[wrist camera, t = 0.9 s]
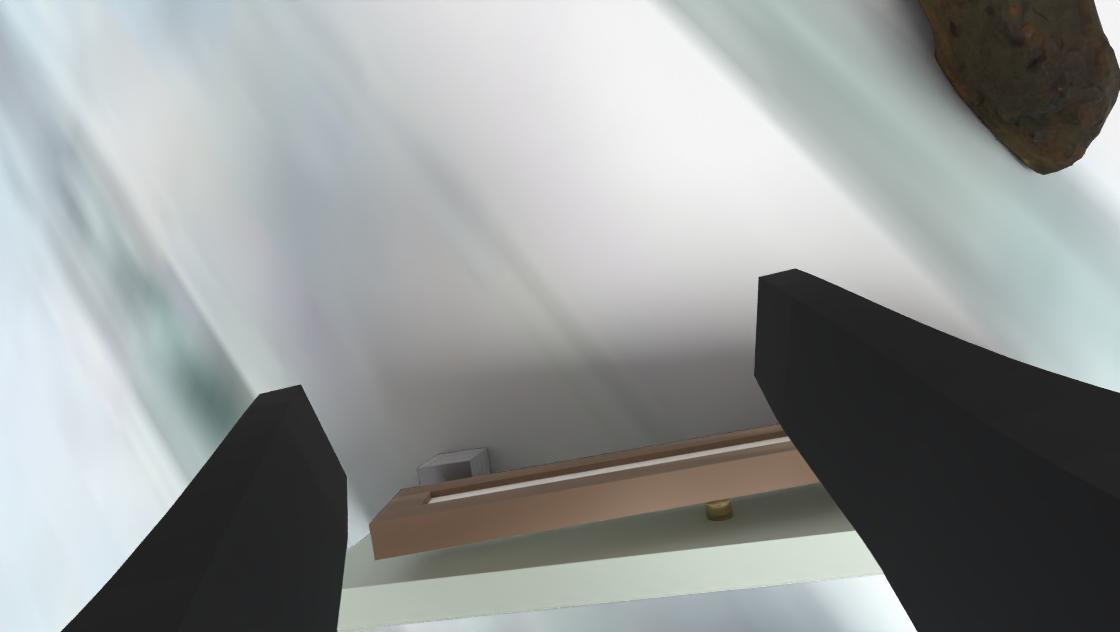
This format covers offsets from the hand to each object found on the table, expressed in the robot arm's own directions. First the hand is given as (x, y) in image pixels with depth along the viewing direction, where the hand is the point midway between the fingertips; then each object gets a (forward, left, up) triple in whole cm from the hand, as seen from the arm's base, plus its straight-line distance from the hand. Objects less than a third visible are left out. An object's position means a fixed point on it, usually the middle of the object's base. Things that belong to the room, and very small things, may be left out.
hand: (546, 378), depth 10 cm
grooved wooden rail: (-4, -2, -12) cm, 13 cm away
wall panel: (-5, -3, -15) cm, 16 cm away
